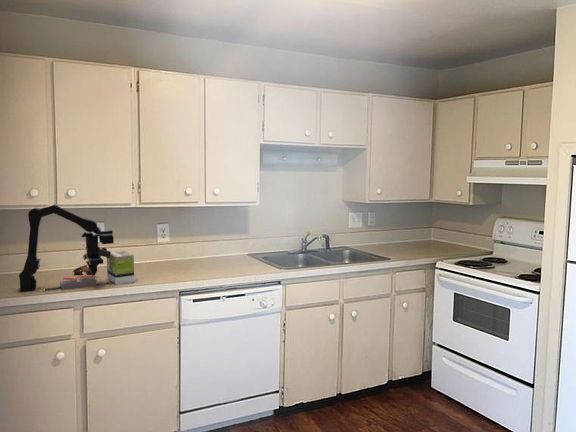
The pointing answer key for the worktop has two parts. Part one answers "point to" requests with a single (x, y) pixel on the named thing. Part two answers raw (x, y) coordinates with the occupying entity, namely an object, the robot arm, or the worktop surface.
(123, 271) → the tea box
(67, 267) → the worktop surface
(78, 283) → the power strip
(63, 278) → the rocker left
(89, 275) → the rocker right
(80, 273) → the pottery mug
